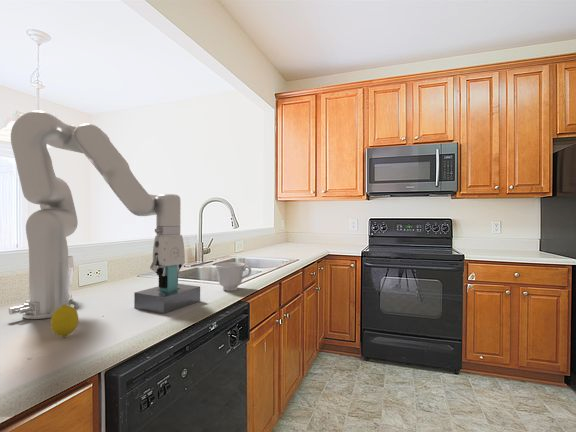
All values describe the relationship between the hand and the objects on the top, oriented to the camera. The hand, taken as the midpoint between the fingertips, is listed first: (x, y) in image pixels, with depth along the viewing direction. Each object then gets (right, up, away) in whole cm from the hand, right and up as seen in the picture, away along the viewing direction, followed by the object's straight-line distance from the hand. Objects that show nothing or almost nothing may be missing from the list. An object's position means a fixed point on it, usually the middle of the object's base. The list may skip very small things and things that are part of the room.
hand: (168, 285), depth 107 cm
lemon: (-15, -7, -28) cm, 33 cm away
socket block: (0, -6, 0) cm, 6 cm away
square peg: (0, -3, 0) cm, 3 cm away
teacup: (+18, -6, +21) cm, 29 cm away
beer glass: (-39, -6, +5) cm, 40 cm away
